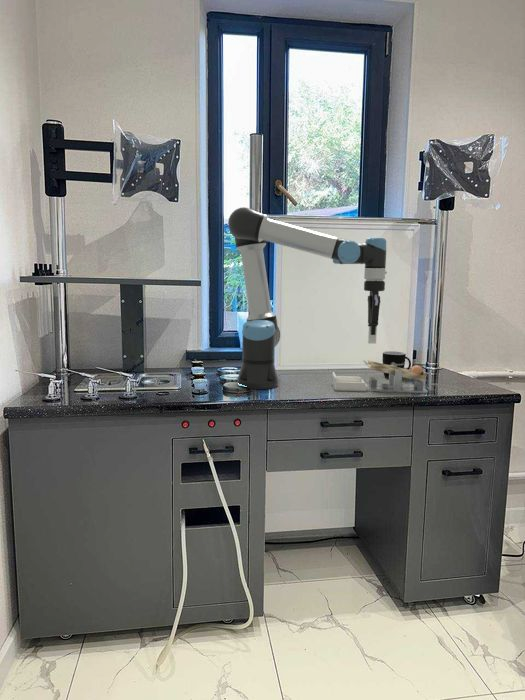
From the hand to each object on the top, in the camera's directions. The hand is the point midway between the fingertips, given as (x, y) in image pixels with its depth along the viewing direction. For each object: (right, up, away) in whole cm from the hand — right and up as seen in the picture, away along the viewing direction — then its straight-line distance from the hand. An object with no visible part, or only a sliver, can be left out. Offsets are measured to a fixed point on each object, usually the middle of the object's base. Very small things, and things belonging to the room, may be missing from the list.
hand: (372, 343), depth 193 cm
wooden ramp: (+7, -11, -4) cm, 14 cm away
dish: (-10, -16, -6) cm, 20 cm away
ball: (+14, -10, -8) cm, 20 cm away
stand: (+7, -17, -7) cm, 19 cm away
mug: (+13, -14, +14) cm, 23 cm away
